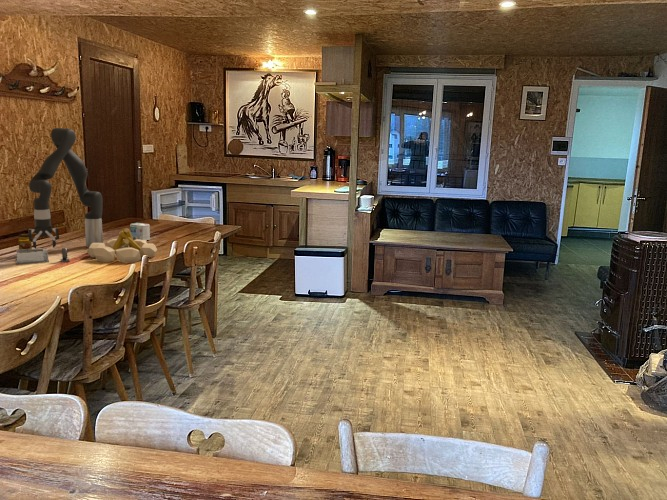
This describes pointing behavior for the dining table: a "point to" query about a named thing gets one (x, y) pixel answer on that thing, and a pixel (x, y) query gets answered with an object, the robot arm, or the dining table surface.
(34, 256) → the c link
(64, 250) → the peg stand
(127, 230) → the campfire
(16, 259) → the mat
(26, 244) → the condiment
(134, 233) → the light bulb box
